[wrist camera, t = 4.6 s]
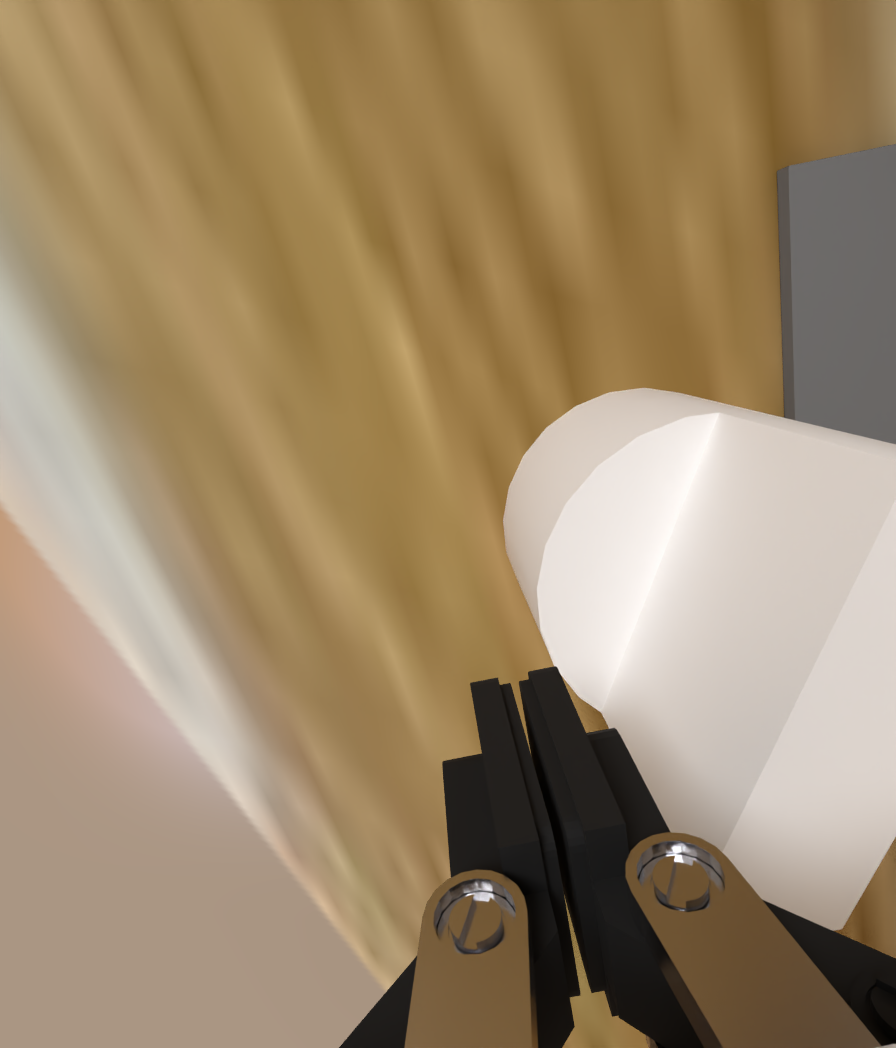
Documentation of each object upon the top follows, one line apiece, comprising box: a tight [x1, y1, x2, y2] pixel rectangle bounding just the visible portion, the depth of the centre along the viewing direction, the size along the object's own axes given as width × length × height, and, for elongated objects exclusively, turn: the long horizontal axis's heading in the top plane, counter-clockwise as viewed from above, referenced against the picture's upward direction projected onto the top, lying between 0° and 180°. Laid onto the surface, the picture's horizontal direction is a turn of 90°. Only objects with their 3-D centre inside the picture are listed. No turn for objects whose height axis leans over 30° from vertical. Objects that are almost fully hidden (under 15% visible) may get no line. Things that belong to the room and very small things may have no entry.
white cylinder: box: [503, 388, 896, 931], centre depth 16 cm, size 9×9×12 cm
